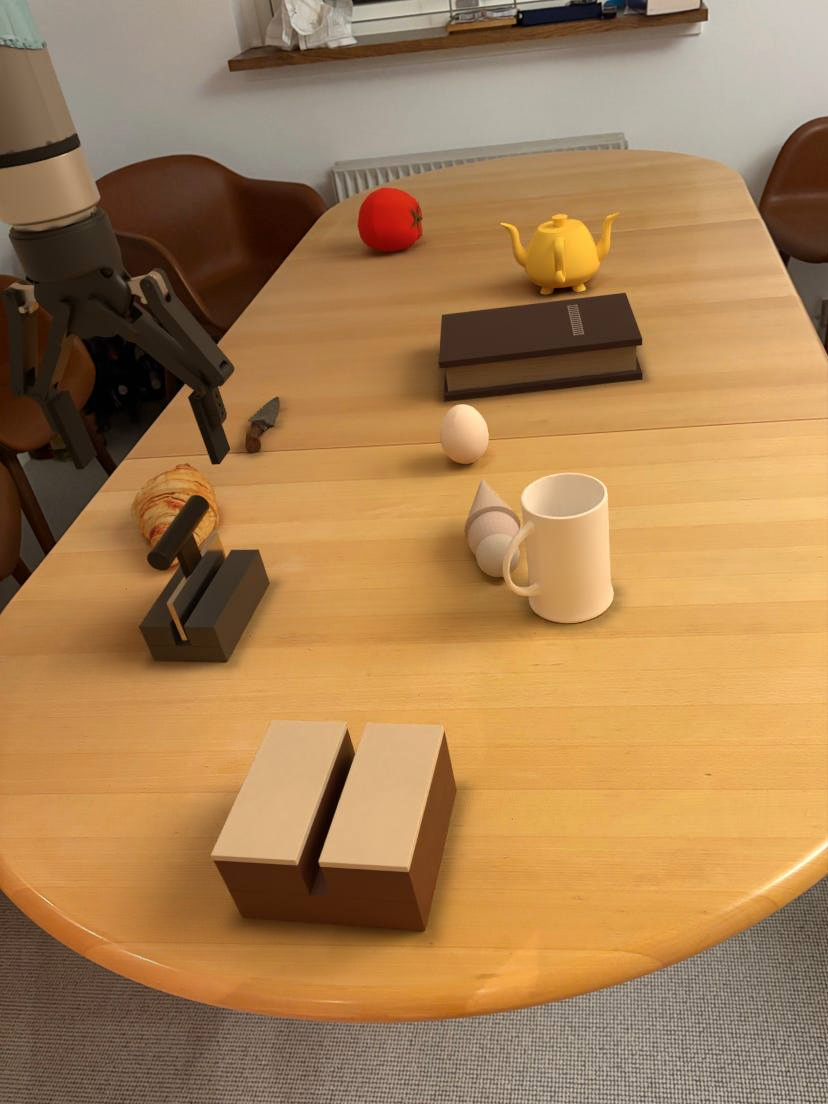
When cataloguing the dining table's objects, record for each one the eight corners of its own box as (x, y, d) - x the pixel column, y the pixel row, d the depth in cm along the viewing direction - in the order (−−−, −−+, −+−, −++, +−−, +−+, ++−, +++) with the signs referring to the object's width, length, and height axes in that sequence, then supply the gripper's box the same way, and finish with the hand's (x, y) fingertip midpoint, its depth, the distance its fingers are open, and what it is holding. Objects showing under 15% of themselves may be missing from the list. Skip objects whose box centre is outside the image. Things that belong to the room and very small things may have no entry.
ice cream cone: (489, 506, 106) (508, 598, 97) (444, 487, 103) (460, 580, 94) (519, 469, 103) (542, 560, 93) (474, 448, 100) (493, 540, 90)
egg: (501, 456, 115) (495, 401, 111) (469, 478, 112) (461, 421, 107) (466, 445, 119) (459, 390, 114) (434, 465, 116) (425, 410, 111)
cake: (241, 917, 67) (210, 855, 62) (295, 782, 77) (271, 719, 72) (425, 931, 65) (407, 867, 60) (457, 789, 74) (443, 724, 69)
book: (624, 326, 142) (624, 288, 139) (642, 379, 127) (642, 338, 124) (447, 347, 144) (442, 310, 141) (444, 401, 130) (438, 362, 126)
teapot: (502, 307, 155) (495, 236, 147) (509, 276, 166) (503, 209, 159) (621, 297, 152) (620, 225, 144) (620, 267, 163) (619, 198, 155)
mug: (530, 649, 86) (519, 544, 79) (485, 605, 92) (470, 504, 85) (631, 601, 90) (629, 496, 82) (581, 561, 96) (575, 461, 88)
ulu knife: (175, 642, 90) (138, 558, 84) (220, 571, 99) (189, 489, 93) (196, 643, 90) (160, 558, 83) (238, 571, 99) (209, 489, 92)
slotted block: (154, 660, 92) (138, 626, 89) (202, 583, 102) (189, 549, 99) (227, 662, 90) (213, 627, 88) (270, 582, 100) (258, 549, 97)
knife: (257, 441, 123) (223, 430, 123) (257, 455, 124) (222, 445, 124) (306, 397, 136) (274, 387, 136) (305, 410, 137) (274, 401, 137)
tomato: (364, 267, 190) (423, 268, 186) (340, 225, 178) (402, 225, 174) (378, 216, 193) (436, 216, 189) (355, 170, 181) (417, 169, 177)
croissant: (209, 592, 106) (223, 536, 101) (117, 576, 102) (127, 517, 98) (216, 498, 122) (228, 446, 117) (137, 481, 118) (146, 427, 114)
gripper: (222, 186, 70) (292, 434, 84) (-56, 215, 75) (53, 444, 89) (183, 216, 65) (266, 476, 78) (-114, 245, 70) (12, 484, 83)
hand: (153, 460), depth 84 cm, fingers open, 13 cm apart
